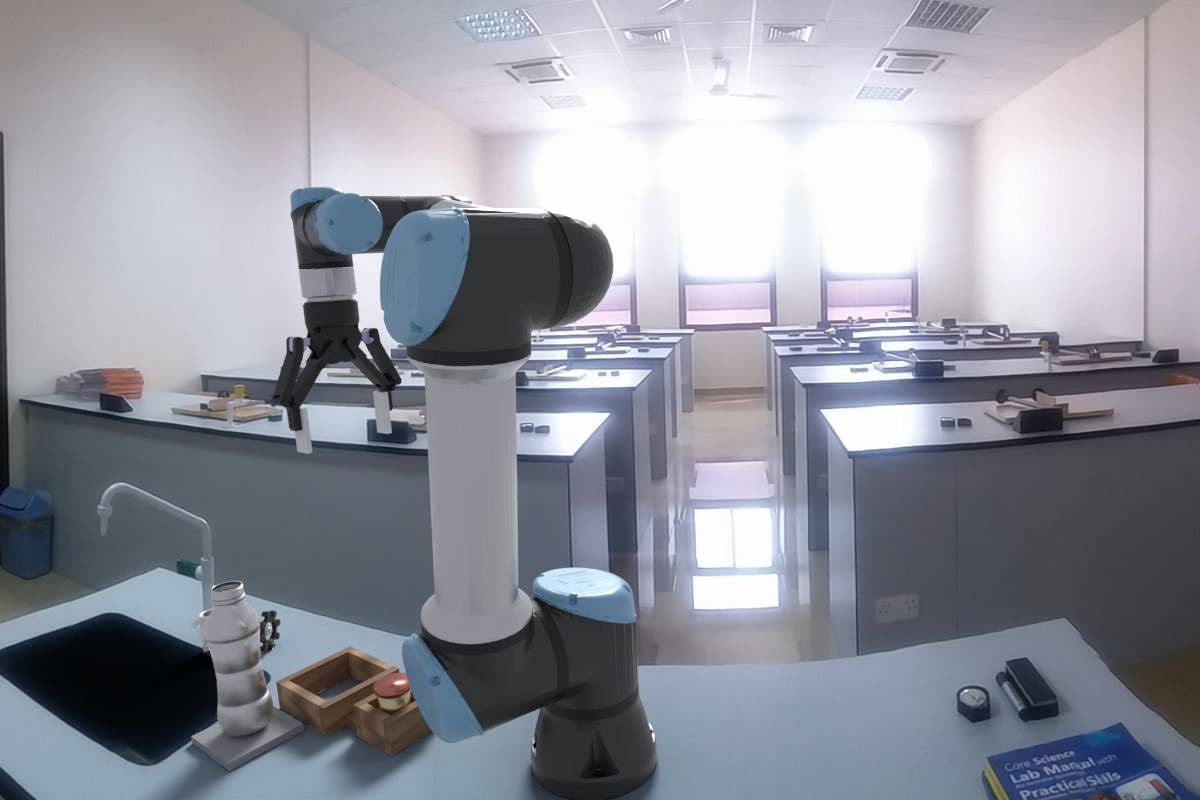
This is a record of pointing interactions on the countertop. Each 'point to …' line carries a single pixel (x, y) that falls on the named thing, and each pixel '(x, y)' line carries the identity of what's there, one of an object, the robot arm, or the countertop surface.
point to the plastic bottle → (237, 662)
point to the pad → (246, 740)
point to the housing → (351, 701)
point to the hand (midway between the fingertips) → (346, 442)
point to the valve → (264, 629)
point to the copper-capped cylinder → (392, 692)
